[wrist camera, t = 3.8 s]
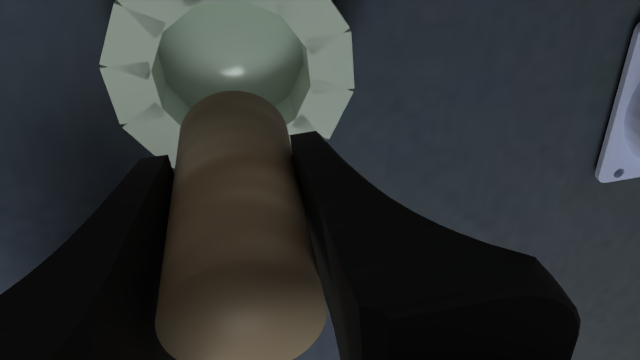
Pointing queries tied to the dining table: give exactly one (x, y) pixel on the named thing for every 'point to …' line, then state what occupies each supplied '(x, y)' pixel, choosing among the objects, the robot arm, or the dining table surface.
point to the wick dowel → (237, 239)
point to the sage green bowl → (225, 62)
